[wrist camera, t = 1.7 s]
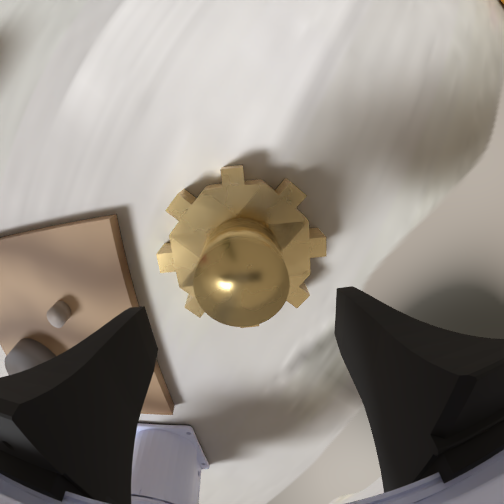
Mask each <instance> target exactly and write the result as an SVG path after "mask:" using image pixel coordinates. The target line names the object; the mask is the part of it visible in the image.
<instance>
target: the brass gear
mask: <svg viewBox="0 0 504 504" xmlns="http://www.w3.org/2000/svg"><path fill="white" fill-rule="evenodd" d="M221 178H222V183H221V184H213V185H207V186H206V187H205V188H204V190H203V191H202V192H201V193H200V195H199V196H198V197H197V198H196V197H194V196H193V195H192V194H190V193H189V192H188V191H187V190H185V189H183V190H182V191H181V192H180V193H178V194H177V196H176V197H175V198H174V200H173V201H172V202H171V204H170V205H169V207H168V208H167V209H166V212H168V213H169V214H170V215H172V216H173V217H174V218H176V219H177V220H178V221H179V223H178V224H177V225H176V227H175V228H174V229H173V231H172V232H171V233H170V235H169V238H170V243H164V245H163V246H162V247H161V249H160V250H159V251H158V253H157V254H156V255H157V259H158V264H159V269H160V273H164V272H175V271H176V274H177V278H178V283H179V287H180V288H181V289H183V290H184V291H186V292H187V293H188V294H189V295H188V298H187V301H186V304H185V308H186V309H188V310H189V311H191V312H192V313H194V314H195V315H197V316H198V317H201V316H202V315H203V314H204V312H206V313H207V314H208V315H209V316H210V317H212V318H213V319H215V320H216V321H218V322H220V323H223V324H226V325H229V326H235V327H241V328H244V327H255V326H259V324H260V323H263V322H265V321H267V320H269V319H270V318H271V317H273V316H274V315H275V314H276V313H277V312H278V311H279V310H280V309H281V308H282V306H283V305H284V303H285V301H288V302H289V303H290V304H292V305H293V306H294V307H296V308H298V307H299V306H300V305H301V304H302V303H303V302H304V301H305V300H306V299H307V298H308V297H309V296H310V294H309V292H308V289H307V287H306V285H305V283H304V280H305V279H306V278H307V277H308V276H309V275H310V258H315V257H324V256H326V236H325V235H324V234H323V233H322V232H321V231H320V230H319V228H310V229H309V221H308V219H307V218H306V217H305V216H304V215H303V214H302V213H301V212H300V211H299V210H298V209H297V207H298V205H299V204H300V203H301V202H302V201H303V200H304V199H305V197H306V196H307V195H305V194H304V193H303V192H302V191H301V190H300V189H299V188H297V187H296V186H295V185H294V184H293V183H292V182H290V181H289V180H288V179H286V178H285V179H284V180H283V181H282V183H281V184H280V185H279V186H278V187H277V188H276V190H274V189H273V188H272V187H271V186H269V185H268V184H267V183H266V182H264V181H263V180H262V179H259V180H249V181H244V173H243V165H236V166H227V167H222V168H221Z"/></svg>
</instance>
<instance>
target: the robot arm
mask: <svg viewBox="0 0 504 504" xmlns="http://www.w3.org/2000/svg"><path fill="white" fill-rule="evenodd" d="M335 337H336V340H337V343H338V347H339V350H340V353H341V356H342V358H343V360H344V362H345V364H346V367H347V369H348V371H349V373H350V375H351V377H352V379H353V382H354V384H355V386H356V388H357V390H358V392H359V395H360V397H361V399H362V402H363V404H364V407H365V410H366V413H367V416H368V420H369V423H370V427H371V430H372V434H373V438H374V441H375V446H376V450H377V455H378V459H379V464H380V469H381V475H382V481H383V488H384V493H383V494H379V495H376V496H373V497H369V498H366V499H362V500H358V501H354V502H350V503H346V504H504V339H491V338H483V337H476V336H470V335H465V334H460V333H456V332H452V331H449V330H445V329H442V328H438V327H435V326H433V325H430V324H427V323H424V322H422V321H419V320H417V319H414V318H412V317H410V316H408V315H406V314H403V313H401V312H399V311H397V310H395V309H393V308H392V307H389V306H388V305H386V304H384V303H382V302H381V301H379V300H377V299H375V298H373V297H372V296H370V295H368V294H366V293H364V292H363V291H361V290H359V289H357V288H355V287H344V288H337V297H336V318H335ZM157 351H158V348H157V345H156V342H155V339H154V336H153V333H152V330H151V326H150V323H149V320H148V317H147V313H146V310H145V307H130V308H128V309H127V310H125V311H123V312H122V313H120V314H119V315H117V316H116V317H115V318H113V319H112V320H110V321H109V322H108V323H106V324H105V325H104V326H102V327H101V328H100V329H98V330H97V331H95V332H94V333H93V334H91V335H90V336H88V337H87V338H85V339H84V340H82V341H81V342H79V343H78V344H77V345H75V346H73V347H72V348H70V349H69V350H67V351H65V352H63V353H62V354H60V355H58V356H56V357H54V358H52V359H50V360H48V361H46V362H44V363H41V364H39V365H37V366H35V367H32V368H30V369H27V370H24V371H22V372H19V373H16V374H12V375H9V376H5V377H1V378H0V504H199V492H200V479H201V469H209V463H208V461H207V459H206V457H205V455H204V453H203V450H202V448H201V446H200V444H199V442H198V439H197V437H196V435H195V432H194V430H193V428H192V427H191V426H185V425H157V424H141V423H138V420H139V417H140V413H141V410H142V407H143V404H144V400H145V397H146V394H147V391H148V388H149V385H150V382H151V379H152V376H153V373H154V369H155V363H156V357H157Z"/></svg>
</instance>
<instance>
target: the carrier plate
mask: <svg viewBox="0 0 504 504" xmlns="http://www.w3.org/2000/svg"><path fill="white" fill-rule="evenodd" d="M130 307H139V304H138V301H137V297H136V294H135V290H134V287H133V283H132V279H131V276H130V272H129V268H128V264H127V260H126V256H125V251H124V247H123V243H122V238H121V234H120V229H119V224H118V219H117V214H114V215H109V216H103V217H97V218H91V219H86V220H80V221H75V222H70V223H65V224H60V225H54V226H50V227H45V228H40V229H35V230H31V231H26V232H22V233H17V234H13V235H8V236H4V237H0V345H1V347H2V348H3V350H4V352H5V354H6V358H5V367H6V370H7V372H8V374H9V375H12V374H16V373H19V372H22V371H24V370H27V369H30V368H32V367H35V366H37V365H39V364H41V363H44V362H46V361H48V360H50V359H52V358H54V357H56V356H58V355H60V354H62V353H63V352H65V351H67V350H69V349H70V348H72V347H73V346H75V345H77V344H78V343H79V342H81V341H82V340H84V339H85V338H87V337H88V336H90V335H91V334H93V333H94V332H95V331H97V330H98V329H100V328H101V327H102V326H104V325H105V324H106V323H108V322H109V321H110V320H112V319H113V318H115V317H116V316H117V315H119V314H120V313H122V312H123V311H125V310H127V309H128V308H130ZM173 410H174V403H173V401H172V398H171V396H170V394H169V391H168V389H167V386H166V383H165V381H164V378H163V376H162V373H161V370H160V368H159V365H158V362H157V359H156V363H155V369H154V373H153V376H152V379H151V382H150V385H149V388H148V391H147V394H146V397H145V400H144V404H143V407H142V410H141V413H142V414H161V415H173Z"/></svg>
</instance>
